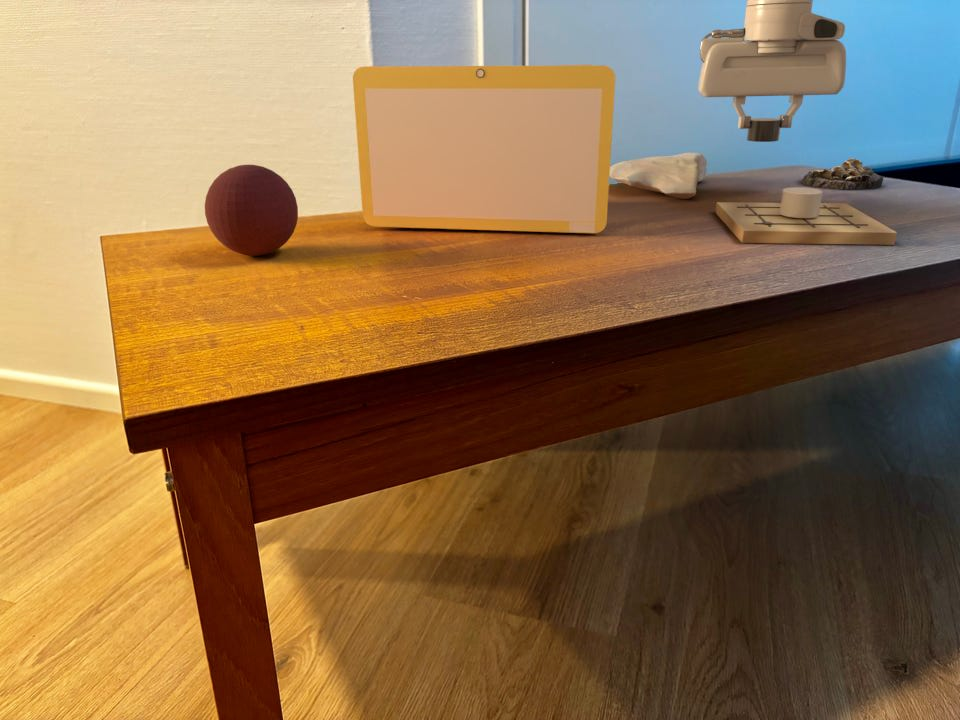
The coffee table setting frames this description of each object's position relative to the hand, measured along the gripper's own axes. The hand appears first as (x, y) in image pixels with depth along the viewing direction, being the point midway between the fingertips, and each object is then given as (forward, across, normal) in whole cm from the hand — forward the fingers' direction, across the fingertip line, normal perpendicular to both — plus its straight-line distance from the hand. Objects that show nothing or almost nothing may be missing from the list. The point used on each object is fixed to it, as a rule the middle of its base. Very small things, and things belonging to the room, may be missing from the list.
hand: (764, 128), depth 111 cm
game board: (+10, 0, -24) cm, 26 cm away
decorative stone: (+10, -16, +4) cm, 19 cm away
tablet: (+9, -36, -25) cm, 45 cm away
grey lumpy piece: (+10, +16, +9) cm, 21 cm away
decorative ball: (+9, -64, -41) cm, 77 cm away
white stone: (+8, 0, -24) cm, 25 cm away
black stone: (+2, 0, 0) cm, 2 cm away
